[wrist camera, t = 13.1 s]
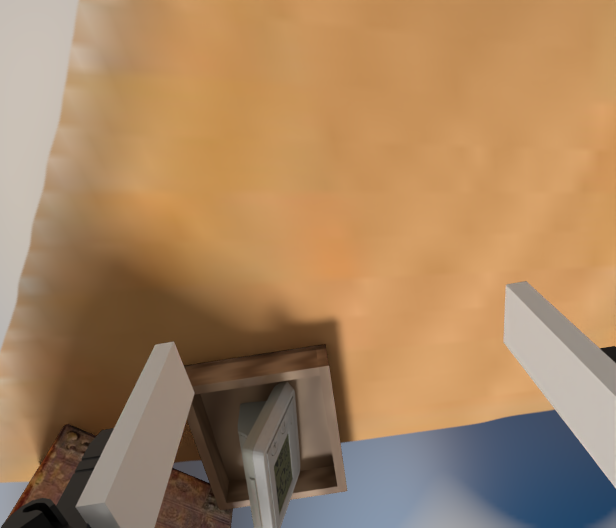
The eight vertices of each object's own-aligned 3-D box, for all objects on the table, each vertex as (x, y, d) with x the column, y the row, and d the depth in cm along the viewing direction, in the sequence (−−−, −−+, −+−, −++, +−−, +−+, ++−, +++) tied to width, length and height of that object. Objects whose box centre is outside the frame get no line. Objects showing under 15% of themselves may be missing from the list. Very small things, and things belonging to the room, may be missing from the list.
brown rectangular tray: (325, 344, 49) (329, 365, 46) (343, 465, 58) (347, 491, 55) (183, 365, 49) (175, 388, 46) (223, 483, 58) (219, 510, 55)
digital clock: (297, 470, 57) (301, 550, 47) (233, 466, 56) (223, 548, 46) (316, 379, 50) (325, 451, 41) (243, 373, 49) (234, 445, 40)
